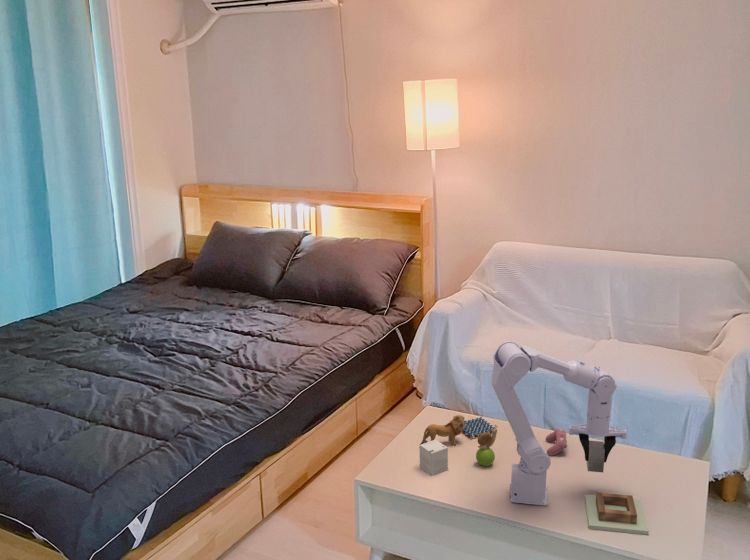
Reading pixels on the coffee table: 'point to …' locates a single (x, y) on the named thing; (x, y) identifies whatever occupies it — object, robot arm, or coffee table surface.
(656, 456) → the coffee table surface
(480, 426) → the woven mat
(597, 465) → the grey brown rectangular block
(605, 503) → the socket block
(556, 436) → the video game controller
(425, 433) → the lion figurine
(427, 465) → the skincare box
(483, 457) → the animal on green ball
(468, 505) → the coffee table surface
